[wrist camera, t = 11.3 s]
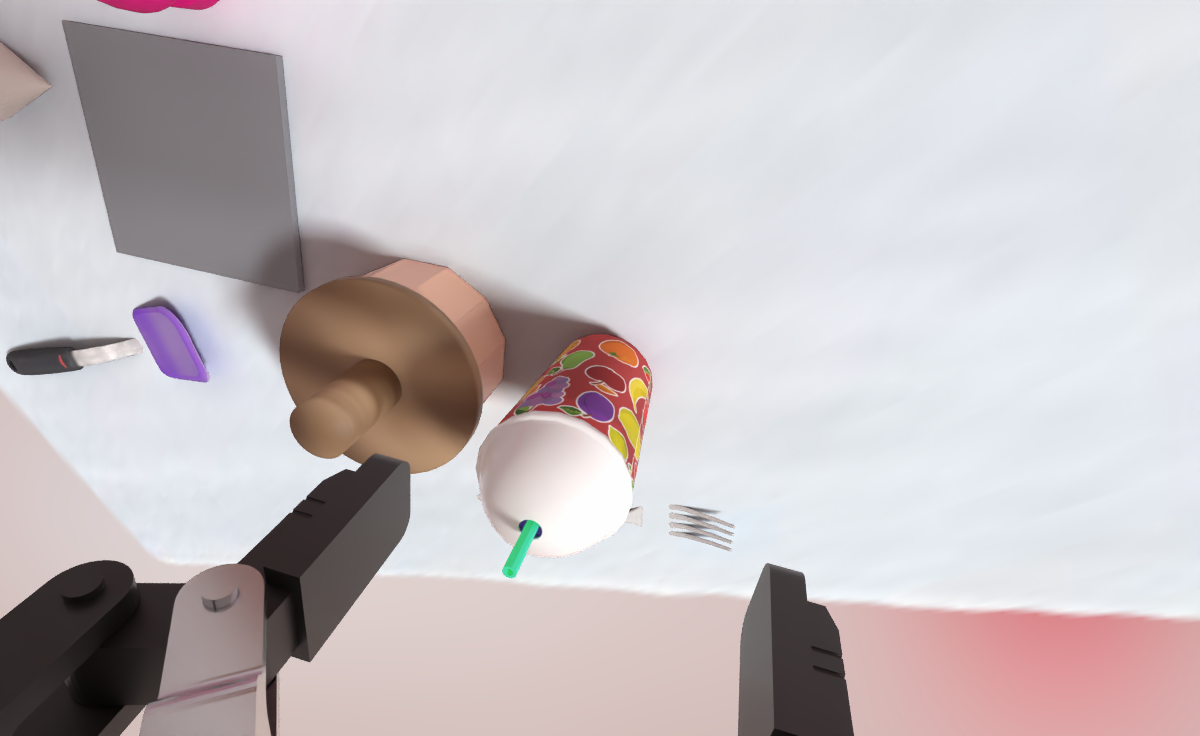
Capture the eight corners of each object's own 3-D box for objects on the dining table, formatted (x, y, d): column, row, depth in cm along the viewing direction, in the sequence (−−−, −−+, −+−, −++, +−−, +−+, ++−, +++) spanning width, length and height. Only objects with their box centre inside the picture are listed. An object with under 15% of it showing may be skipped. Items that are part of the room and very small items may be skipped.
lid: (278, 256, 38) (187, 291, 32) (487, 300, 36) (433, 346, 30) (300, 440, 45) (228, 498, 39) (479, 485, 43) (433, 555, 37)
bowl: (346, 246, 44) (290, 269, 39) (509, 280, 42) (474, 309, 37) (355, 394, 50) (307, 432, 44) (499, 430, 48) (467, 474, 43)
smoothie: (578, 432, 46) (471, 652, 29) (533, 335, 44) (384, 512, 26) (682, 406, 43) (634, 633, 26) (641, 300, 41) (555, 473, 23)
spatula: (37, 390, 59) (10, 402, 57) (-3, 325, 56) (-33, 335, 54) (234, 371, 52) (211, 383, 50) (198, 295, 49) (173, 305, 47)
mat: (70, 21, 41) (61, 20, 41) (282, 56, 39) (275, 56, 38) (123, 250, 49) (116, 252, 48) (304, 290, 46) (299, 292, 46)
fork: (444, 474, 52) (434, 487, 50) (735, 507, 47) (735, 522, 45) (449, 505, 53) (440, 518, 52) (733, 540, 48) (732, 556, 46)
